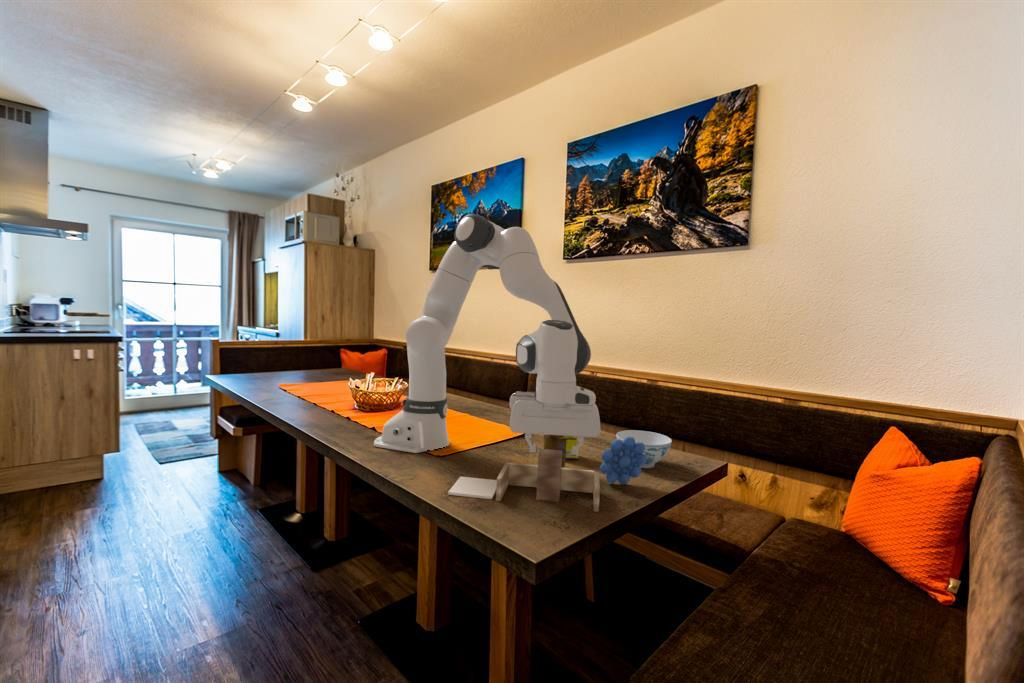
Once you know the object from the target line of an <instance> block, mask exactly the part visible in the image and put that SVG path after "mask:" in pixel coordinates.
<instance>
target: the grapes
mask: <svg viewBox="0 0 1024 683" xmlns="http://www.w3.org/2000/svg"><path fill="white" fill-rule="evenodd" d="M644 450H645V446H644V444H643V443H641V442H637V443H635V439H634V438H633V437H627V438H625V439H624V441H623V443H622V441H621V440H617V438H616V439H614V440H613V441H612V442H611V443H610V449H609V448H607V449H605V450H604V451H602V453H601V454H600V455H601V460H602V461H603V462H602V463H601V465H600V466H599V473H601V474H603V475H606V476H605V478H606V482H607V483H609V484H614V483H616V482H617V481H618V483H619V484H620V485H627V484H628V483H630V480H631V478H634V479H637V478H639V477H640V475H641V474H642V472H643V471H642V467H640V466H643V465H645V464H646V462H647V456H646V455H645V454H642V453H643V452H644Z"/></svg>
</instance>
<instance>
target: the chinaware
mask: <svg viewBox="0 0 1024 683" xmlns="http://www.w3.org/2000/svg"><path fill="white" fill-rule="evenodd" d="M615 436H616V437H615V438H616V439H617V440H621V441H622V443H623V441H624V439H625V438H627V437H633V438H634V439H635V443H637V442H641V443H643V444H644V446H645V450H644V452H643V453H642V454H645V455H646V456H647V462H646V464H645V465H643V466H640V467H641V469H643V468H644V469H651V468H654V467H655V464H656V463H659V462H660V461H662V460H663V459H664V458H665V457H666V456H667V454H668V453H669V451H670V448H671V447H672V444H673V443H672V441H673V440H672V438H670V437H669V436H667V435H664V434H661V433H659V432H658V433H657V432H653V431H647V430H646V431H645V430H638V429H637V430H635V429H633V430H631V429H630V430H622V431H618V432H616V434H615Z"/></svg>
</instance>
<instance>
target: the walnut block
mask: <svg viewBox="0 0 1024 683" xmlns="http://www.w3.org/2000/svg"><path fill="white" fill-rule="evenodd" d="M537 465H538V472H537V487H536V496H535V497H536V500H537V501H544V502H545V501H546V502H556V503H559V502H560V497H561V490H560V488H561V467H562V451H561V450H549V449H543V448H540V449H539V452H538V454H537Z"/></svg>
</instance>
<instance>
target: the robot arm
mask: <svg viewBox="0 0 1024 683" xmlns="http://www.w3.org/2000/svg"><path fill="white" fill-rule="evenodd" d="M483 266H486V268H487V270H499V274H500V279H501V282H502V284H503V286H504V289H505V290H506V291H507V292H508V293H509V294H511V295H512V296H514V297H516V298H518V299H520V300H524V301H527V302H530V303H532V304H534V305H537V306H539V307H541V308H543V309H544V310H545V311H546V312H547V313H548V315H549V317H550V319H546V320H543V321H541V322H540V323H539V326H538V329H536V330H535V331H533V332H531V333H529V334H524V335H523V336H522V337H521V338H520V339H519V341H518V342H517V343H516V348H515V362H516V365H517V366H518V367H519V368H520V369H521V370H522V371H523V372H524V373H528V374H534V375H535V374H537V376H536V381H535V382H536V384H535V386H536V387H535V391H516V392H514V393H512V394H511V395H510V397H509V403H508V404H509V408H510V410H511V411H510V412H511V413H510V418H509V419H510V420H509V429H510V431H511V432H512V433H515V434H524V439H525V441H526V442H527V444H528V446H529V453H530V454H537V450H538V449H537V447H538V445H537V443H534V442H533V440H532V437H533V435H544V434H545V435H561V436H577V437H578V441H579V442H578V443H577V445H576V446H572V456H578V451H579V452H580V448H581V447H582V446H583V444H584V442H585V438H596V439H597V438H598V437H599V436H600V435H601V419H600V412H599V408H598V406H597V404H596V399H597V398H596V394H595V392H594V391H592V390H590V389H587V388H584V387H582V386H579V385H577V377H576V375H579V374H580V373H582V371H584V370H585V369H586V368H587V366H588V364H589V363H590V361H591V356H592V352H591V347H590V344H589V342H588V340H587V339H586V336H584V334H583V333H582V332H581V329H580V328H579V326H578V324H577V322H576V319H575V317H574V315H573V312H572V310H571V307H570V305H569V302H568V301H567V299H566V297H565V295H564V292H563V290H562V289H561V287H560V286H559V284H558V282H556V281H555V280H553V279H552V278H551V277H550V275H549V274H548V273H547V271H546V270H545V268H544V267H543V265H542V263H541V260H540V256H539V252H538V249H537V247H536V244H535V242H534V240H533V238H532V236H531V234H530V233H529V231H527V230H526V229H525V228H523V227H520V226H512V227H508V228H506V229H505V228H503V227H502V226H500V225H498V224H496V223H494V222H492V221H490V220H488V219H487V218H486V217H485V216H481V215H480V214H475V213H469V214H466V215H465V216H463V217H462V218H461V219H460V220H459V221H458V223H457V224H456V227H455V229H454V241H453V242H452V243H451V244H450V246H449V247H448V249H447V250H446V252H445V253H444V255H443V257H442V259H441V261H440V263H439V265H438V268H437V269H436V272H435V274H434V276H433V279H432V281H431V283H430V286H429V288H428V290H427V293H426V297H425V302H424V305H423V308H422V309H421V310H422V311H421V314H420V316H419V317H417V318H416V319H414V320H412V322H410V324H409V325H408V327H407V329H406V333H405V340H406V350H407V351H406V353H407V354H406V355H407V362H408V374H409V375H408V376H409V377H408V378H409V379H408V397H406V398H405V399H403V400H402V401H401V402H400V403H401V404H400V407H401V406H402V410H400V411H399V412H397V414H395V415H394V416H392V417H391V418H389V419H388V420H387V421H386V422H385V423H384V425H383V428H382V431H381V432H382V433H381V435H380V436H377V437H376V438H375V439H374V441H373V446H374V447H377V448H383V449H388V450H395V451H401V452H408V453H413V454H418V453H422V452H423V453H424V452H428V451H427V450H430V451H433V450H432V449H438V448H442V449H444V448H443V447H445V448H447V447H449V446H450V444H449V443H450V439H449V435H448V429H447V428H448V427H447V420H446V418H447V416H448V415H447V414H448V399H447V397H446V396H447V366H446V346H447V345H448V343H449V341H450V338H451V336H452V334H453V331H454V328H455V326H456V324H457V321H458V318H459V316H460V312H461V310H462V307H463V304H464V303H465V301H466V298H467V295H468V293H469V291H470V290H471V286H472V284H473V282H474V280H475V277H476V275H477V272H478V271H479V269H480V268H481V267H483ZM446 446H447V447H446ZM438 450H439V449H438Z"/></svg>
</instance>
